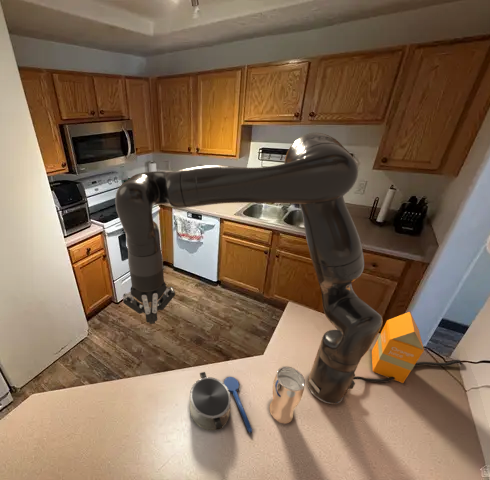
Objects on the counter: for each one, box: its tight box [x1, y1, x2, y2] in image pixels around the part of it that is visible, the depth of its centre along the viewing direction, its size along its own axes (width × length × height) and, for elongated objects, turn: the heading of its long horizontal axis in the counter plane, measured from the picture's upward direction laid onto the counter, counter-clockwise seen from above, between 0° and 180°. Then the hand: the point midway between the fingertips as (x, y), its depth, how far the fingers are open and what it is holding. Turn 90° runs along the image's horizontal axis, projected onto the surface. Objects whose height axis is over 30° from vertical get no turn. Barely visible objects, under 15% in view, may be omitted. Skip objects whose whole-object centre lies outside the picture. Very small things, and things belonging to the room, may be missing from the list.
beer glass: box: [269, 365, 306, 424], centre depth 68 cm, size 7×7×15 cm
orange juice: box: [371, 311, 425, 384], centre depth 77 cm, size 8×9×20 cm
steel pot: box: [189, 371, 232, 431], centre depth 71 cm, size 11×15×6 cm
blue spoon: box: [223, 376, 253, 433], centre depth 73 cm, size 4×15×1 cm, turn 12°
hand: (152, 321), depth 66 cm, fingers closed
